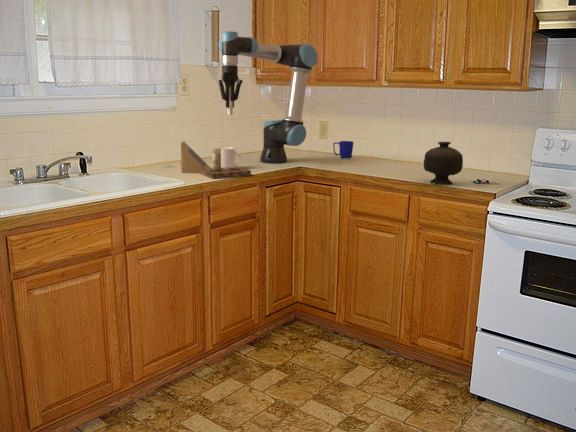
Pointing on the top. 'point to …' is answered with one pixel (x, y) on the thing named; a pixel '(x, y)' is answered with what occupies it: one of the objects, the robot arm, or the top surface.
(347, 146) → the mug
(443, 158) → the pot
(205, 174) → the board
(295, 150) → the top surface
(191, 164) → the sandwich container
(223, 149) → the mug
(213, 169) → the peg
